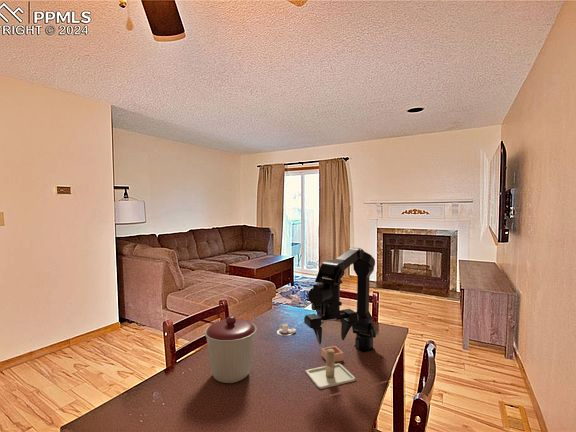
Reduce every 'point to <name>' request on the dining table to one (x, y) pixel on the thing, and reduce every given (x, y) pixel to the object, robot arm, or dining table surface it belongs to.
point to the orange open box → (337, 353)
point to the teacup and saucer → (286, 330)
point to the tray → (323, 382)
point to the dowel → (330, 363)
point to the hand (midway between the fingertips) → (331, 341)
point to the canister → (230, 348)
